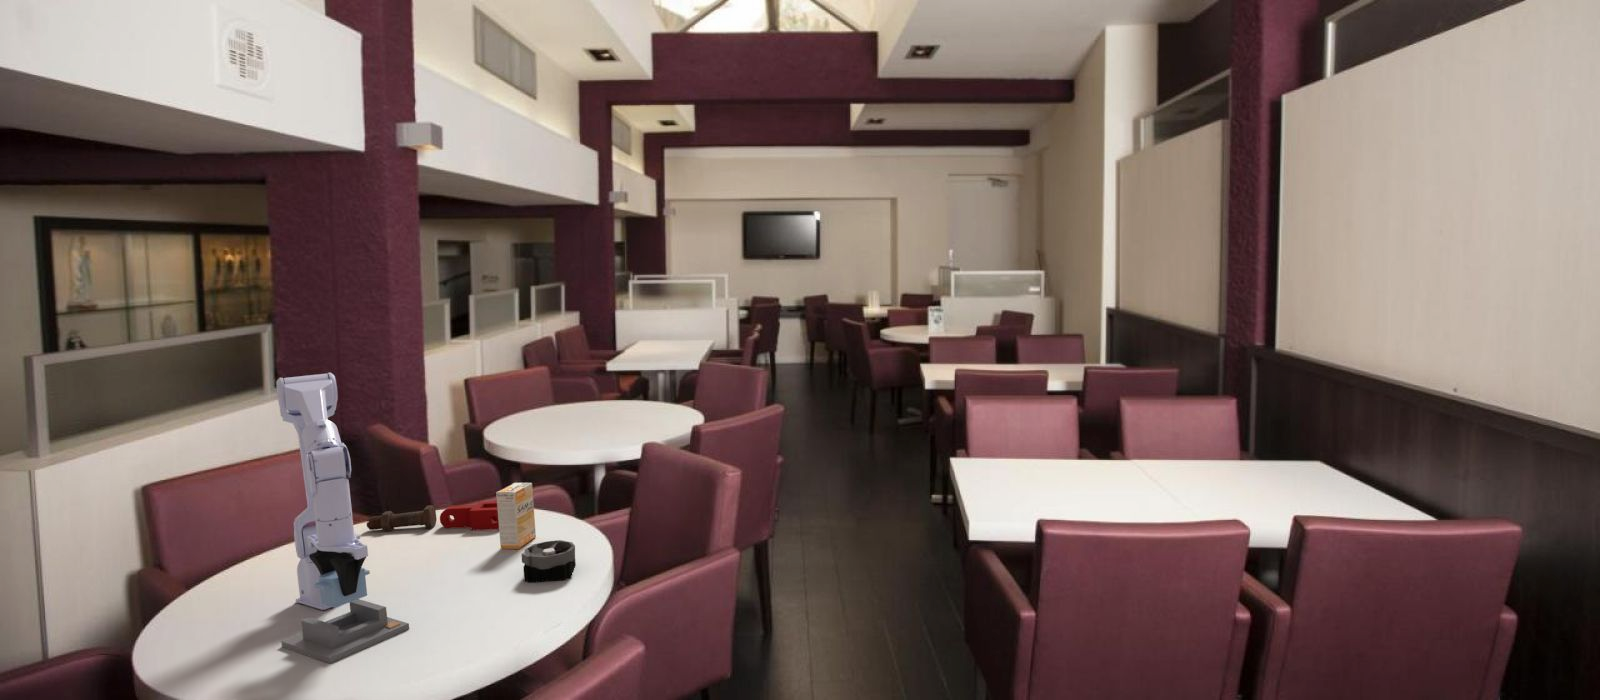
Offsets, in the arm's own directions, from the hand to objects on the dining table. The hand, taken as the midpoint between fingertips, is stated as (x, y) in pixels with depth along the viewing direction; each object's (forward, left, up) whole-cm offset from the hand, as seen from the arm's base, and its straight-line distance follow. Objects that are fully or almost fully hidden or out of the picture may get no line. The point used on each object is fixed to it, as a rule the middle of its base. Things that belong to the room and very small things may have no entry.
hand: (341, 591), depth 163 cm
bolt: (-46, +44, -9) cm, 64 cm away
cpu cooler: (+10, +39, -9) cm, 41 cm away
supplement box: (-11, +49, -9) cm, 51 cm away
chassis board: (0, 0, -8) cm, 8 cm away
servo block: (0, 0, -2) cm, 2 cm away
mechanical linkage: (-31, +54, -9) cm, 62 cm away
